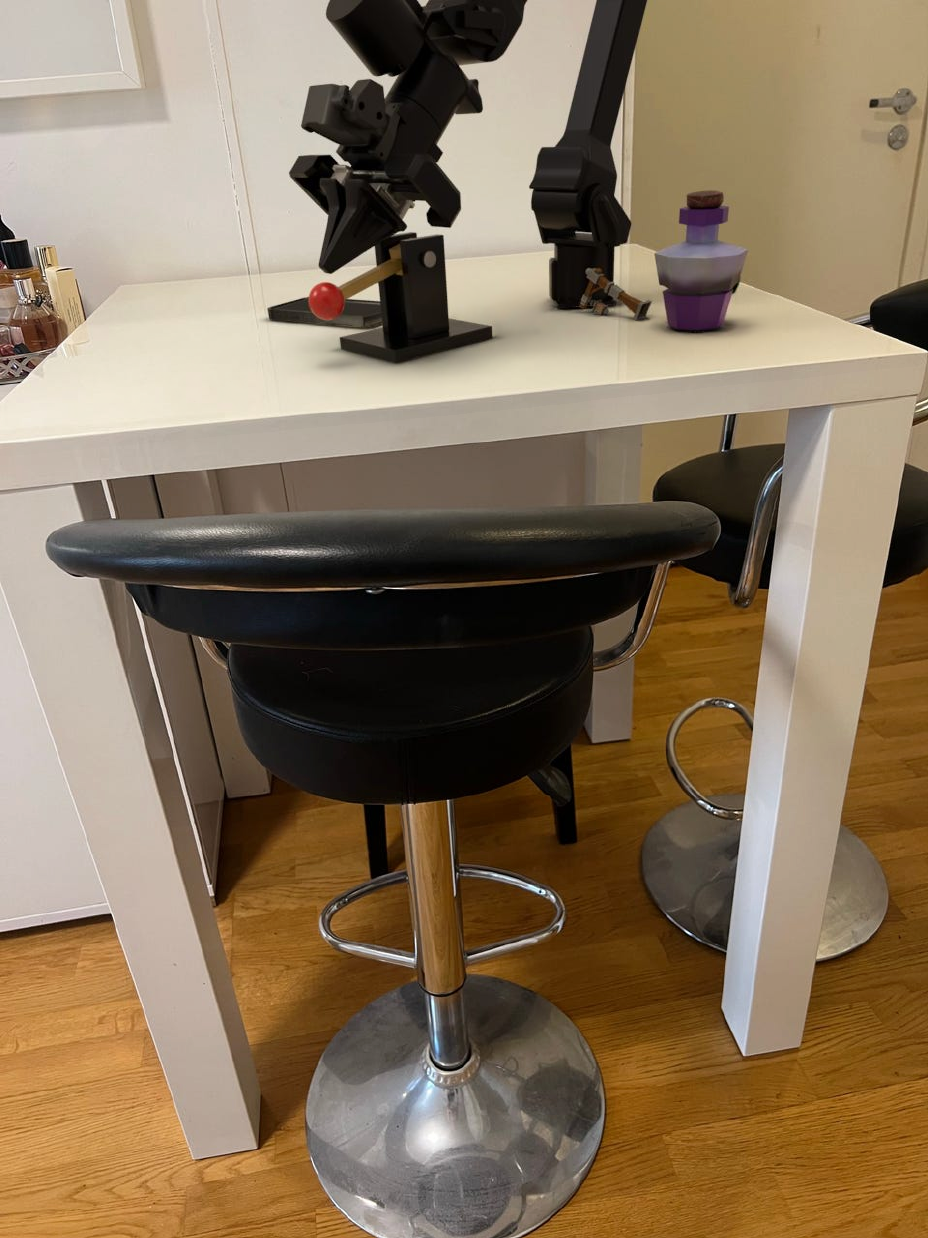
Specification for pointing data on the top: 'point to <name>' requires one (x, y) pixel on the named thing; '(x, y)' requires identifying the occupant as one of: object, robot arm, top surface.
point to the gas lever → (351, 287)
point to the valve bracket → (414, 306)
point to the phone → (352, 316)
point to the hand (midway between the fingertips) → (324, 270)
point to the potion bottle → (700, 267)
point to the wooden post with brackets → (615, 291)
